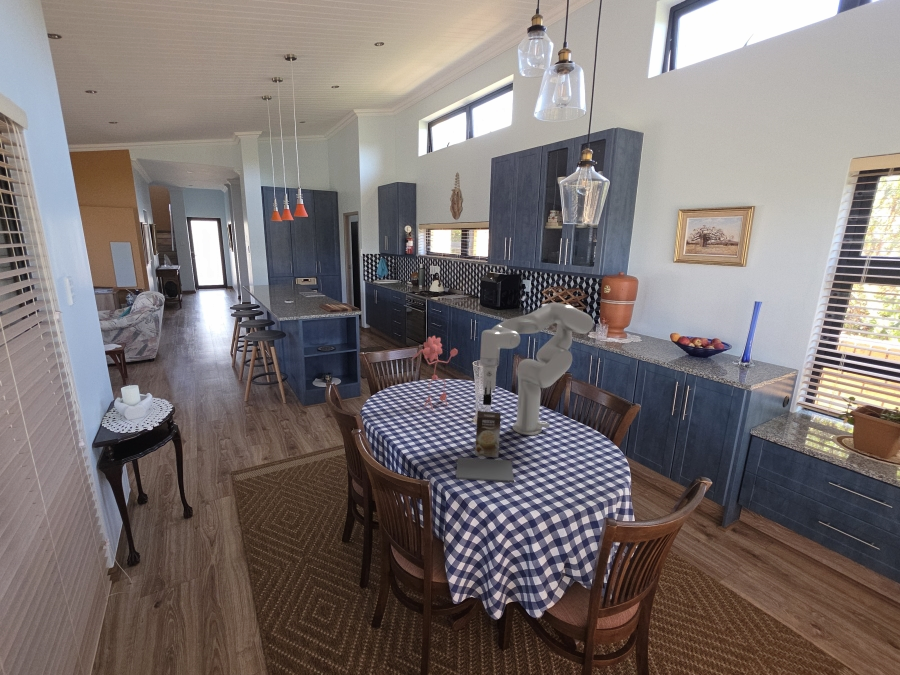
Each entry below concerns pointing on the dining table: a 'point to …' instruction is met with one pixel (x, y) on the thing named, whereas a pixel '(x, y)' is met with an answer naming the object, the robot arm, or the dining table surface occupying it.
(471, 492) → the dining table surface
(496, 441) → the coffee box
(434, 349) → the pink stick figure toy
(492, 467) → the mat
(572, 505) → the dining table surface
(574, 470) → the dining table surface
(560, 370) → the robot arm
